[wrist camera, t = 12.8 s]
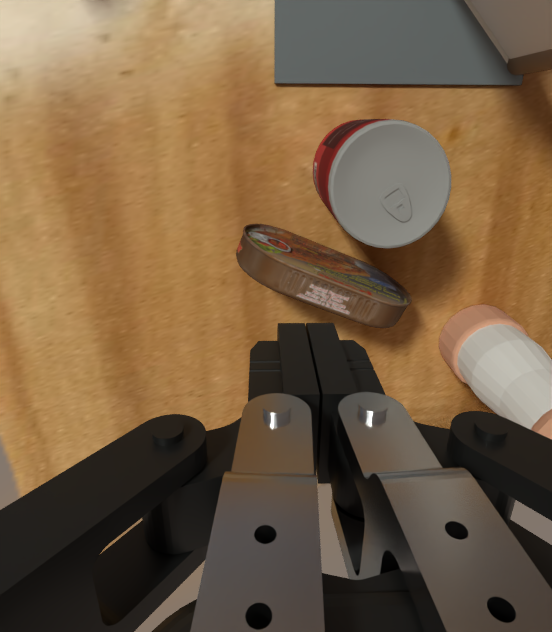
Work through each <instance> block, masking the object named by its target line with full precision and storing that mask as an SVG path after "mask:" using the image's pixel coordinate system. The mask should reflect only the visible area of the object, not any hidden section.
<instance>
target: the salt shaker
mask: <svg viewBox="0 0 552 632" xmlns="http://www.w3.org/2000/svg"><path fill="white" fill-rule="evenodd" d="M439 349H440V352H441V355H442V357H443V358H444V360H445V361H446V362H447V364H448V365H449V366H450V368H451V369H452V370H453V372H454V373H455V374H456V375H457V376H458V378H459V379H460V380H461V381H462V382H464V383H466V384H468V385H469V386H470V388H471V389H472V390H473V392H474V393H475V394H476V396H477V397H478V398H479V399H480V400H481V401H482V402H483V403H484V404H486V405H487V406H488V407H489V408H490V409H492V410H493V411H494V412H495V413H496V414H498V415H499V416H502V417H504V418H507V419H509V420H511V421H513V422H515V423H517V424H520V425H522V426H524V427H526V428H528V429H530V430H532V431H535V432H537V433H539V434H541V435H543V436H545V437H547V438H549V439H552V359H551V358H550V357H549V356H548V354H547V353H546V352H545V351H544V349H543V348H542V347H541V346H540V345H538V344H537V343H536V342H534V341H533V340H532V339H530V338H529V337H528V334H527V332H526V331H525V330H524V328H523V327H522V326H521V325H520V324H518V323H517V322H516V321H515V320H513V319H512V318H511V317H510V316H508V315H507V314H506V313H505V312H503V311H502V310H500V309H498V308H496V307H494V306H489V305H476V306H471V307H468V308H466V309H463V310H461V311H459V312H458V313H457V314H455V315H454V316H453V317H451V318H450V319H449V321H448V322H447V323H446V325H445V326H444V327H443V330H442V332H441V335H440V338H439Z"/></svg>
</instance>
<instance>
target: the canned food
mask: <svg viewBox="0 0 552 632" xmlns="http://www.w3.org/2000/svg"><path fill="white" fill-rule="evenodd" d="M313 179H314V184H315V187H316V190H317V192H318V194H319V196H320V198H321V199H322V201H323V202H324V204H325V205H326V206H327V208H328V209H329V210H330V212H331V213H332V215H333V216H334V217H335V219H336V220H337V221H338V222H339V224H340V225H341V226H342V227H343V228H344V230H345V231H346V232H348V233H349V234H350V235H351V236H352V237H354V238H355V239H357V240H359V241H361V242H363V243H365V244H367V245H370V246H374V247H378V248H395V247H401V246H404V245H407V244H410V243H412V242H414V241H416V240H418V239H420V238H421V237H423V236H424V235H425V234H426V233H428V232H429V231H430V230H431V229H432V228H433V227H434V225H435V224H436V223H437V222H438V221H439V219H440V217H441V216H442V214H443V212H444V210H445V208H446V205H447V203H448V200H449V195H450V190H451V171H450V166H449V162H448V159H447V157H446V154H445V152H444V150H443V148H442V147H441V145H440V144H439V142H438V141H437V140H436V139H435V138H434V137H433V136H432V135H431V134H430V133H429V132H427V131H426V130H424V129H422V128H421V127H419V126H417V125H415V124H412V123H409V122H406V121H402V120H392V119H369V120H353V121H349V122H346V123H343V124H341V125H339V126H337V127H336V128H334V129H333V130H332V131H331V132H329V133H328V134H327V135H326V136H325V138H324V139H323V140H322V142H321V143H320V145H319V147H318V149H317V151H316V154H315V158H314V162H313Z"/></svg>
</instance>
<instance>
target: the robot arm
mask: <svg viewBox="0 0 552 632" xmlns="http://www.w3.org/2000/svg"><path fill="white" fill-rule="evenodd" d="M316 472H317V476H316ZM317 479H318V484H319V483H331V488H332V505H331V514H332V518H333V522H334V525H335V529H336V532H337V536H338V540H339V544H340V547H341V551H342V555H343V558H344V562H345V566H346V569H347V573H348V577H349V579H347V578H342V577H337V576H332V575H328V574H324V573H322V567H321V548H320V528H319V510H318V489H317ZM515 500H517V501H519V502H521V503H522V504H524V505H526V506H527V507H529V508H531V509H533V510H534V511H536V512H538V513H539V514H541V515H543V516H545V517H546V518H548V519H550V520H551V521H552V439H549V438H547V437H545V436H543V435H541V434H539V433H537V432H535V431H532V430H530V429H528V428H526V427H524V426H522V425H520V424H517V423H515V422H513V421H511V420H509V419H507V418H504V417H502V416H499V415H496V414H492V413H488V412H482V411H469V412H464V413H461V414H458V415H457V416H455V417H454V418H453V420H452V422H451V427H450V429H445V428H439V427H434V426H429V425H424V424H420V423H417V422H414V421H413V420H412V419H411V417H410V415H409V414H408V412H407V411H406V409H405V408H404V406H403V405H402V404H401V403H399V402H398V401H397V400H395V399H393V398H391V397H389V396H386V395H385V393H384V390H383V388H382V386H381V384H380V381H379V379H378V377H377V375H376V373H375V370H373V366H372V364H371V362H370V359H369V357H368V355H367V353H366V350H365V349H364V348H363V347H361V346H360V345H359V344H357V343H356V342H355V341H354V340H339V337H338V334H337V332H336V329H335V326H334V323H306V327H305V323H278V334H277V341H258V342H257V344H256V345H255V346H254V347H253V348H252V349H251V350H250V372H249V393H248V403H247V404H246V405H245V407H244V409H243V412H242V417H241V418H240V419H238V420H237V421H236V422H234V423H232V424H230V425H227V426H225V427H222V428H218V429H214V430H209V431H206V430H205V427H204V426H203V424H202V423H201V422H200V421H199V420H197V419H195V418H193V417H190V416H187V415H180V414H172V415H164V416H160V417H156V418H153V419H151V420H149V421H147V422H145V423H143V424H141V425H140V426H138V427H137V428H135V429H133V430H132V431H130V432H128V433H127V434H125V435H123V436H122V437H120V438H118V439H117V440H115V441H113V442H112V443H110V444H109V445H107V446H105V447H104V448H102V449H100V450H99V451H97V452H95V453H94V454H92V455H90V456H89V457H87V458H85V459H84V460H82V461H80V462H79V463H77V464H76V465H74V466H72V467H71V468H69V469H67V470H66V471H64V472H62V473H61V474H59V475H57V476H56V477H54V478H52V479H51V480H49V481H48V482H46V483H44V484H43V485H41V486H39V487H38V488H36V489H34V490H33V491H31V492H29V493H28V494H26V495H24V496H23V497H21V498H20V499H18V500H16V501H15V502H13V503H11V504H10V505H8V506H7V507H5V508H3V509H2V510H0V632H134V631H135V630H136V629H137V628H138V627H139V626H140V625H141V624H142V623H143V622H144V621H145V620H146V619H147V618H148V617H149V615H151V614H152V613H153V612H154V611H155V610H156V609H157V608H158V607H159V606H160V605H161V604H162V603H163V602H164V601H165V600H166V599H167V598H168V597H169V596H170V595H171V594H172V593H173V592H174V591H175V590H176V589H177V587H179V586H180V584H182V583H183V581H185V580H186V579H187V578H188V577H189V576H190V575H191V573H193V572H194V570H196V568H198V566H199V565H201V564H202V562H203V561H204V560H205V564H204V569H203V574H202V578H201V583H200V588H199V593H198V598H197V599H196V600H194V601H193V602H191V603H189V604H187V605H185V606H184V607H182V608H180V609H179V610H178V611H176V612H175V613H173V614H172V615H170V616H169V617H168V618H166V619H165V620H164V621H163V622H162V623H161V624H160V625H158V626H157V627H156V628H155V629H154V630H153V631H152V632H552V545H550V544H549V543H547V542H545V541H544V540H542V539H541V538H539V537H538V536H536V535H534V534H533V533H531V532H529V531H528V530H526V529H524V528H523V527H521V526H520V525H518V524H517V523H515V522H513V521H512V520H510V517H511V514H512V510H513V507H514V503H515ZM141 518H142V519H143V520H142V521H141V522H140V523H139V524H138V525H136V526H135V527H134V528H132V529H131V530H130V531H129V532H127V533H126V534H125V535H124V536H122V537H121V538H120V539H119V540H117V541H116V542H115V543H114V544H112V545H111V546H110V547H109V548H107V549H106V550H105V551H104V552H102V550H103V549H104V548H105V547H106V546H107V545H108V544H109V543H110V542H112V541H113V540H114V539H116V538H117V537H118V536H119V535H121V534H122V533H123V532H124V531H126V530H127V529H128V528H129V527H130V526H132V525H133V524H134V523H136V522H137V521H138V520H139V519H141ZM101 552H102V553H101ZM100 553H101V554H100ZM99 554H100V555H99Z"/></svg>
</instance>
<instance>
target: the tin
mask: <svg viewBox="0 0 552 632" xmlns="http://www.w3.org/2000/svg"><path fill="white" fill-rule="evenodd" d="M236 256H237V260H238V263H239V265H240V267H241V268H242V269H243V270H244V271H245V272H246V273H247V274H248V275H249V276H250V277H252V278H253V279H254V280H256V281H257V282H259V283H260V284H262V285H264V286H266V287H268V288H270V289H272V290H274V291H276V292H278V293H281V294H284V295H286V296H289V297H291V298H294V299H296V300H299V301H302V302H304V303H307V304H310V305H312V306H315V307H317V308H320V309H323V310H326V311H328V312H331V313H334V314H337V315H339V316H342V317H345V318H348V319H350V320H353V321H356V322H358V323H361V324H364V325H368V326H371V327H376V328H389V327H392V326H394V325H395V324H396V323H397V322H398V320H399V319H400V317H401V315H402V314H403V312H404V310H405V309H406V307H407V306H408V305H409V304H410V303H411V301H412V299H411V296H410V294H409V293H408V292H407V290H406V289H405V288H403V287H402V286H401V285H400V284H399V283H398V282H396V281H395V280H394V279H392V278H391V277H390V276H388V275H387V274H385V273H384V272H382V271H380V270H379V269H377V268H375V267H373V266H371V265H369V264H367V263H365V262H362V261H360V260H358V259H355V258H353V257H350V256H348V255H345V254H343V253H340V252H338V251H335V250H333V249H330V248H328V247H325V246H323V245H320V244H318V243H316V242H313V241H311V240H308V239H306V238H303V237H301V236H298V235H296V234H293V233H291V232H288V231H286V230H283V229H280V228H276V227H273V226H269V225H263V224H250V225H247V226H245V227H244V230H243V236H242V238H241V241H240V243H239V246H238V248H237V252H236Z"/></svg>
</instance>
